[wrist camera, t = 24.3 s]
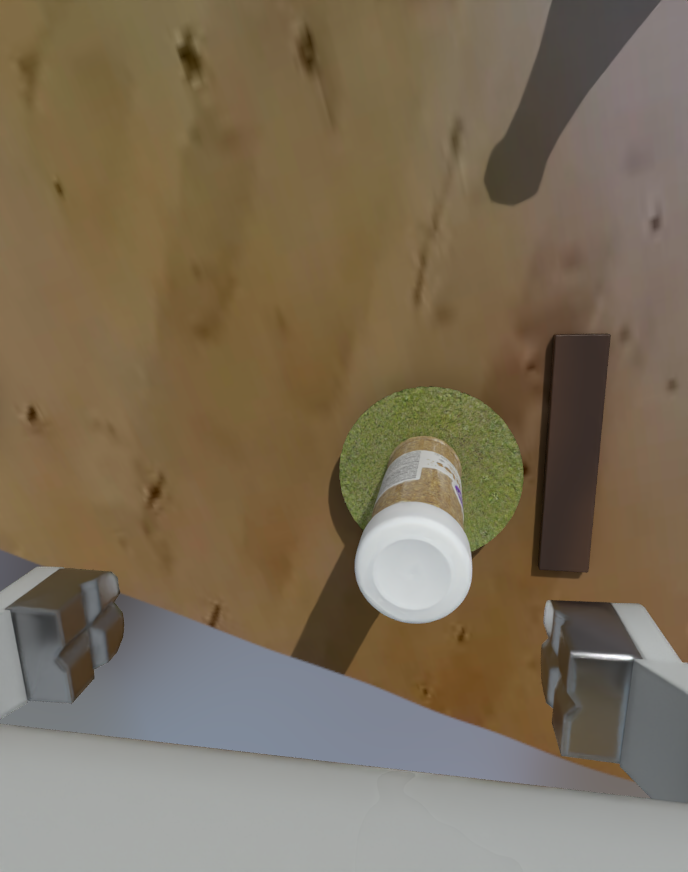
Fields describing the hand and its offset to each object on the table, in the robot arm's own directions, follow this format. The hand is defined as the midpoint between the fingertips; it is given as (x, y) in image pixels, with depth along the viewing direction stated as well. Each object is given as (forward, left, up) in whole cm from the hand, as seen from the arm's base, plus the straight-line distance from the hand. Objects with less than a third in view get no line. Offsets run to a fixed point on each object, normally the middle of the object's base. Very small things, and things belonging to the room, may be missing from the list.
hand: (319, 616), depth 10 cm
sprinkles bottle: (+1, -5, -24) cm, 24 cm away
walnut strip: (+10, -4, -26) cm, 28 cm away
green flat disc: (+2, -5, -26) cm, 26 cm away
